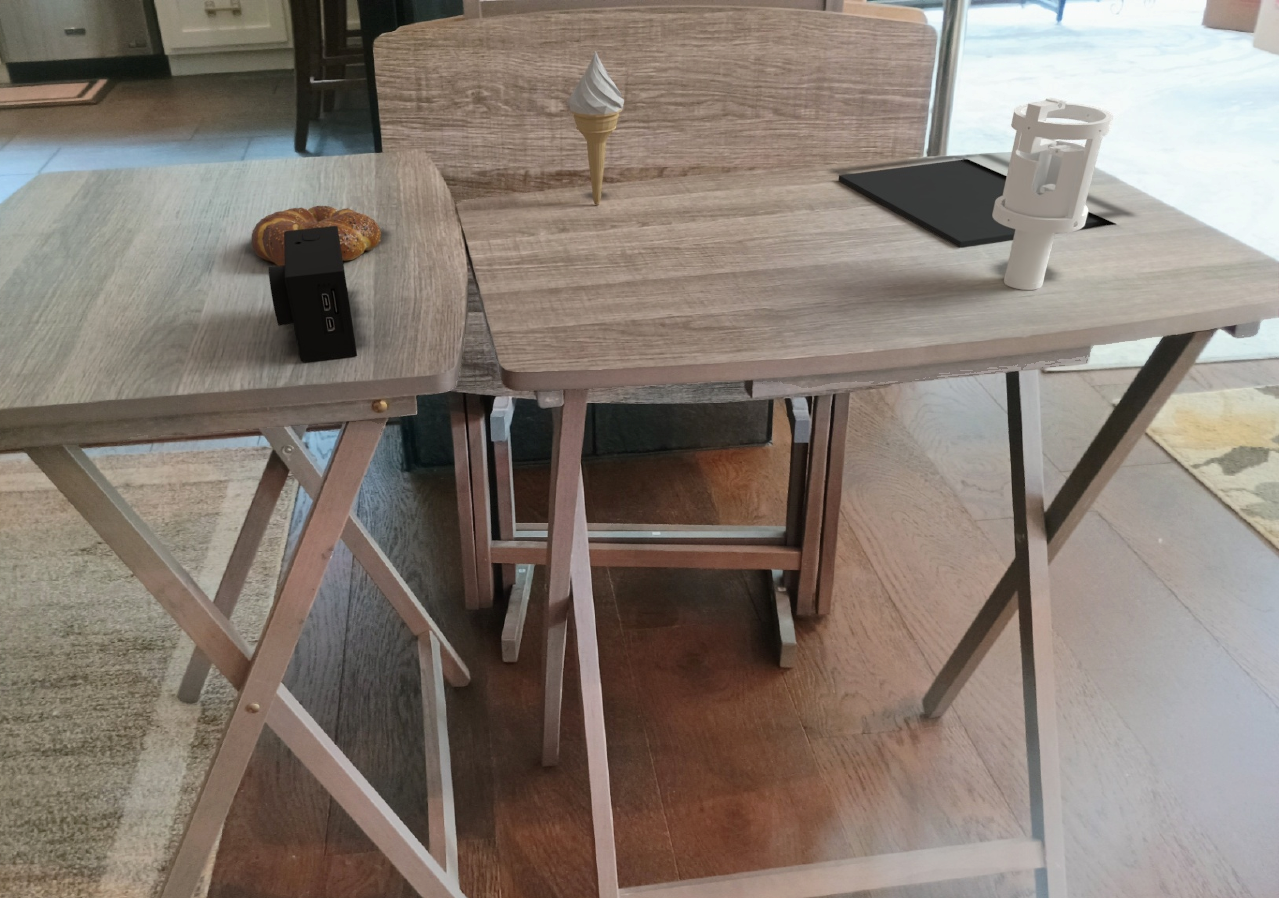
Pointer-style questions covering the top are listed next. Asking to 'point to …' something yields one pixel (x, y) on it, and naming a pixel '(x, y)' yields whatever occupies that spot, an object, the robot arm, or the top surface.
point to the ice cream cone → (596, 116)
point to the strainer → (1047, 182)
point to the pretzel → (352, 227)
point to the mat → (945, 199)
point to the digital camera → (314, 294)
